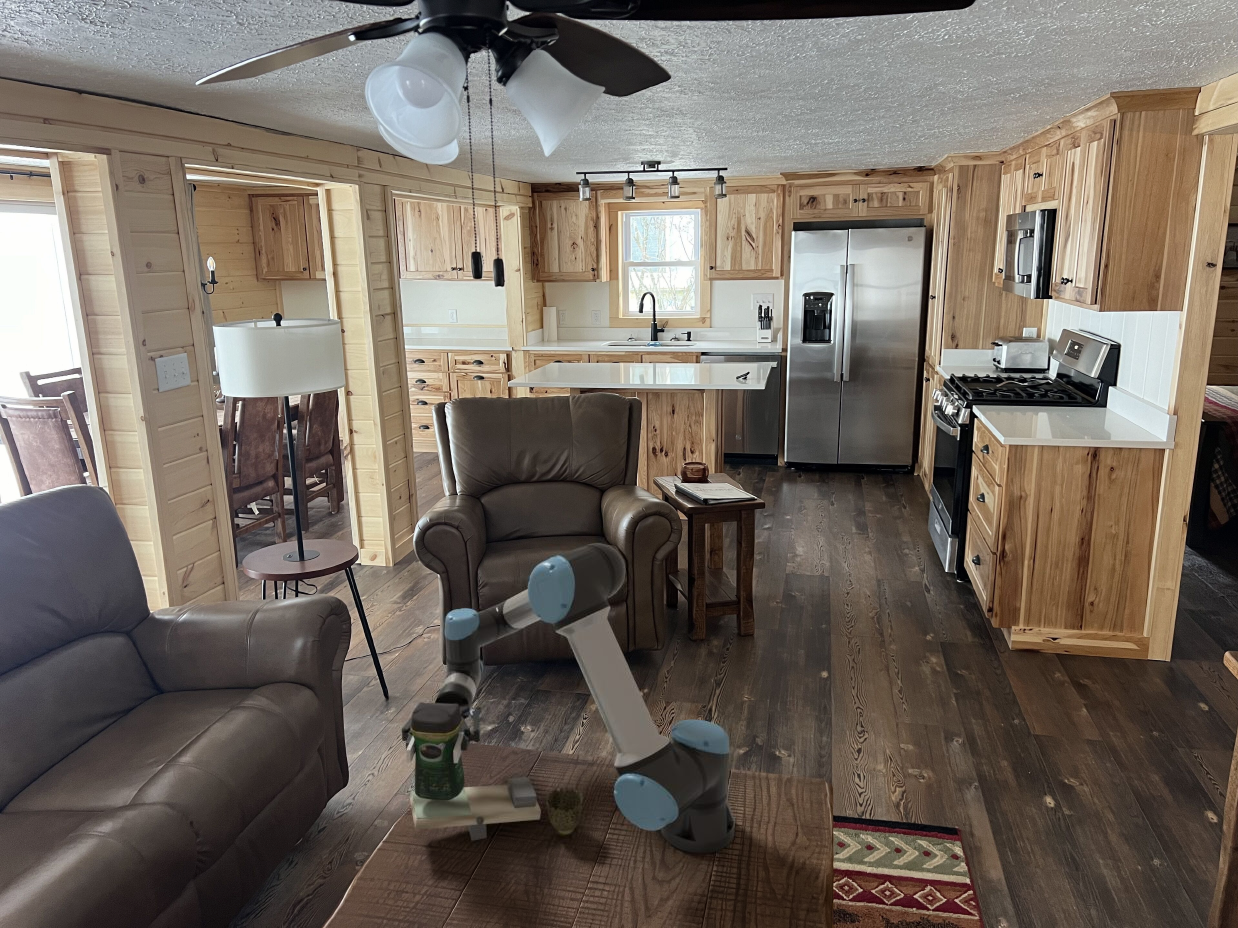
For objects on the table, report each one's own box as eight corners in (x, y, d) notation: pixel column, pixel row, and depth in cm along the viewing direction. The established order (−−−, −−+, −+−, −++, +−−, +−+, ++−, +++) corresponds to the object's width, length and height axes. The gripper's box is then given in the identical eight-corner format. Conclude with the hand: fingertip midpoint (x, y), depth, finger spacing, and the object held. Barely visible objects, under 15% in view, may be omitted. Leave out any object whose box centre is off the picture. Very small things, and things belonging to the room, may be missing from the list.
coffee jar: (469, 780, 176) (466, 698, 171) (456, 804, 168) (453, 718, 164) (423, 776, 177) (419, 694, 173) (409, 799, 169) (404, 714, 165)
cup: (578, 846, 172) (577, 811, 170) (542, 841, 173) (541, 806, 171) (586, 823, 179) (586, 789, 177) (552, 818, 180) (552, 784, 178)
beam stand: (486, 837, 174) (486, 820, 173) (471, 840, 173) (471, 823, 172) (480, 816, 181) (479, 800, 180) (465, 819, 180) (465, 802, 179)
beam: (540, 820, 175) (543, 801, 174) (415, 830, 166) (417, 810, 166) (527, 789, 185) (530, 771, 184) (409, 798, 176) (411, 778, 176)
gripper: (504, 714, 188) (487, 774, 166) (407, 712, 188) (378, 772, 166) (503, 682, 186) (486, 739, 164) (406, 681, 187) (376, 738, 165)
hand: (432, 756), depth 165 cm, fingers closed on coffee jar, 8 cm apart
